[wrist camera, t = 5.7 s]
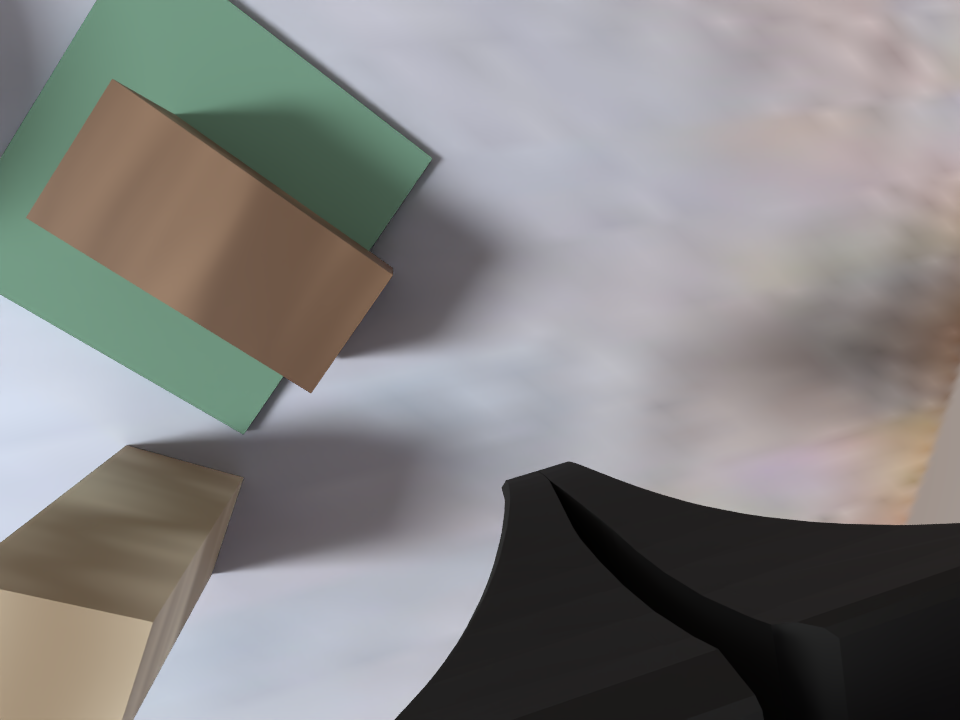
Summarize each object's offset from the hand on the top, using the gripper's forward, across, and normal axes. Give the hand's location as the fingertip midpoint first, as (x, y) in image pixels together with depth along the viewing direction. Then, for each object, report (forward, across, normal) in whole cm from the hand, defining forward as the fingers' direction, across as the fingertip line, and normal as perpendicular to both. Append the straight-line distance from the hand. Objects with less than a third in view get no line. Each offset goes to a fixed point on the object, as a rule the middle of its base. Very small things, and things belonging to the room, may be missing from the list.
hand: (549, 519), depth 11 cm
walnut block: (+6, +3, -4) cm, 8 cm away
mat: (+8, +6, -8) cm, 13 cm away
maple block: (+8, +10, +1) cm, 13 cm away
